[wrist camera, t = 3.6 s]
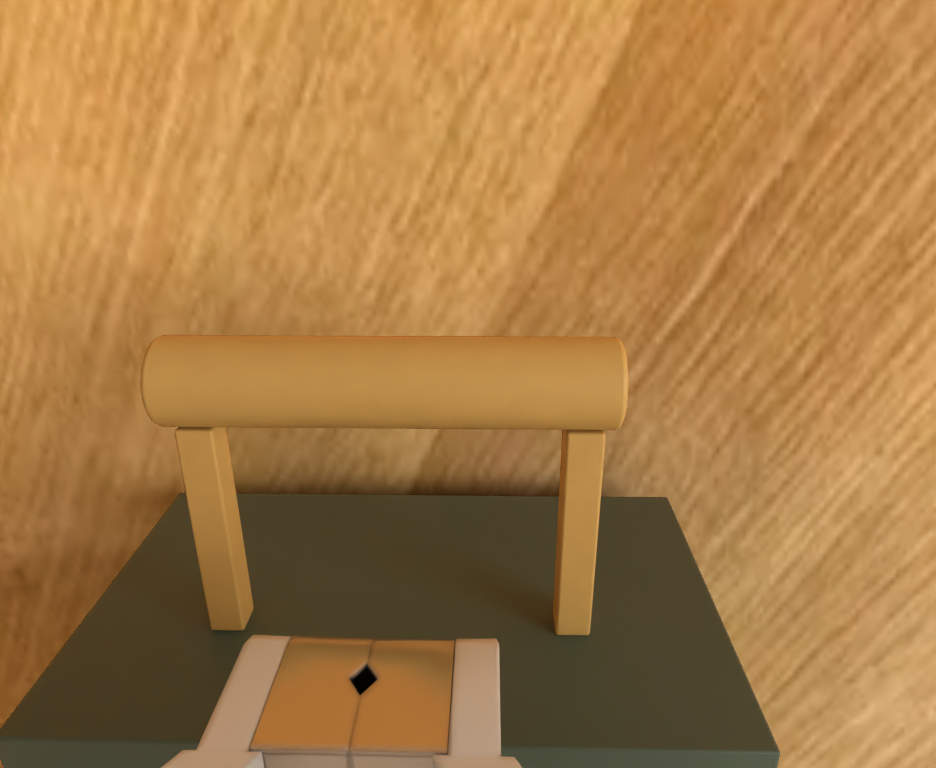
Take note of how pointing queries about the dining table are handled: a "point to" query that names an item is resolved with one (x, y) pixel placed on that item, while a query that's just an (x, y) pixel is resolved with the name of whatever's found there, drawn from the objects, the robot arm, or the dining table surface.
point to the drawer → (404, 563)
